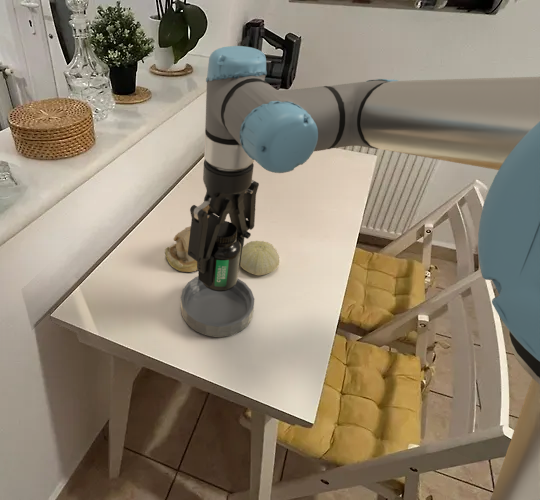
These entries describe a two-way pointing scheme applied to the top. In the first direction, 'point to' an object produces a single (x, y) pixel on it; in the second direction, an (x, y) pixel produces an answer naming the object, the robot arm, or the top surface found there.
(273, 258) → the sea urchin shell
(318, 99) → the robot arm
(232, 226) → the supplement bottle
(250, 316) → the dish
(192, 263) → the ceramic model
